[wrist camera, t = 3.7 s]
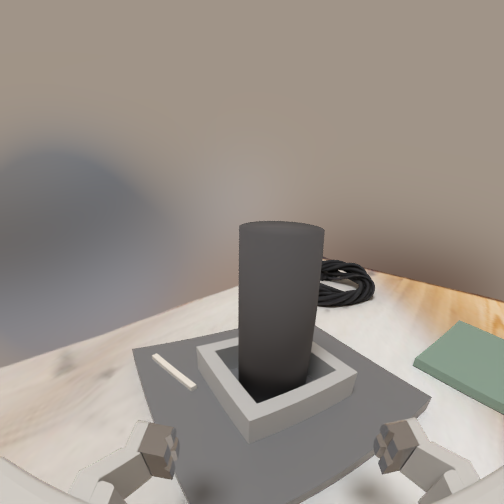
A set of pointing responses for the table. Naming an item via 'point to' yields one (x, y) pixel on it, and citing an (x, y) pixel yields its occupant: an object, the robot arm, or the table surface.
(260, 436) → the base
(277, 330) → the dark grey cylinder
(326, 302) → the cable
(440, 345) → the pad
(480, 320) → the table surface
